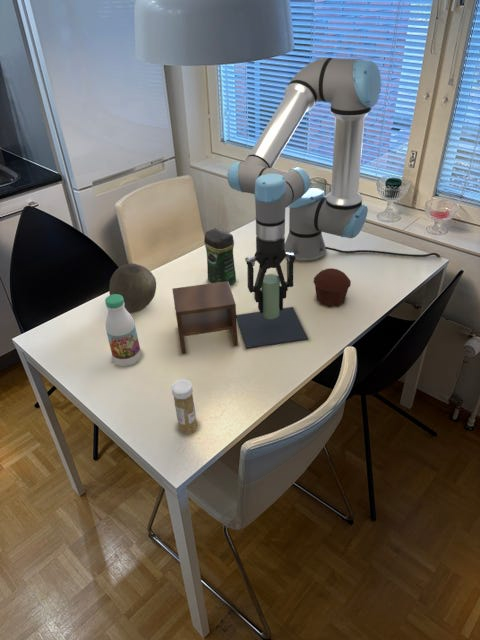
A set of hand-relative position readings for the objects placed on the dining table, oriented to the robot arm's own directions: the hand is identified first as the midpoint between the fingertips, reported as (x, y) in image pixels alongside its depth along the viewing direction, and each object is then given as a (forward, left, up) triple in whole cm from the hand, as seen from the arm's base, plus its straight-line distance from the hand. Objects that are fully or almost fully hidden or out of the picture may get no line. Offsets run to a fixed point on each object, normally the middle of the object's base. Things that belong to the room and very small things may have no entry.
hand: (270, 308), depth 142 cm
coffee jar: (+10, -29, -7) cm, 32 cm away
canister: (0, 0, -2) cm, 2 cm away
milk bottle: (+42, +4, -7) cm, 43 cm away
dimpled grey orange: (+39, -20, -7) cm, 44 cm away
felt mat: (0, 0, -7) cm, 7 cm away
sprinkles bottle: (+28, +33, -7) cm, 44 cm away
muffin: (-22, -10, -7) cm, 25 cm away
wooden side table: (+19, 0, -7) cm, 20 cm away
